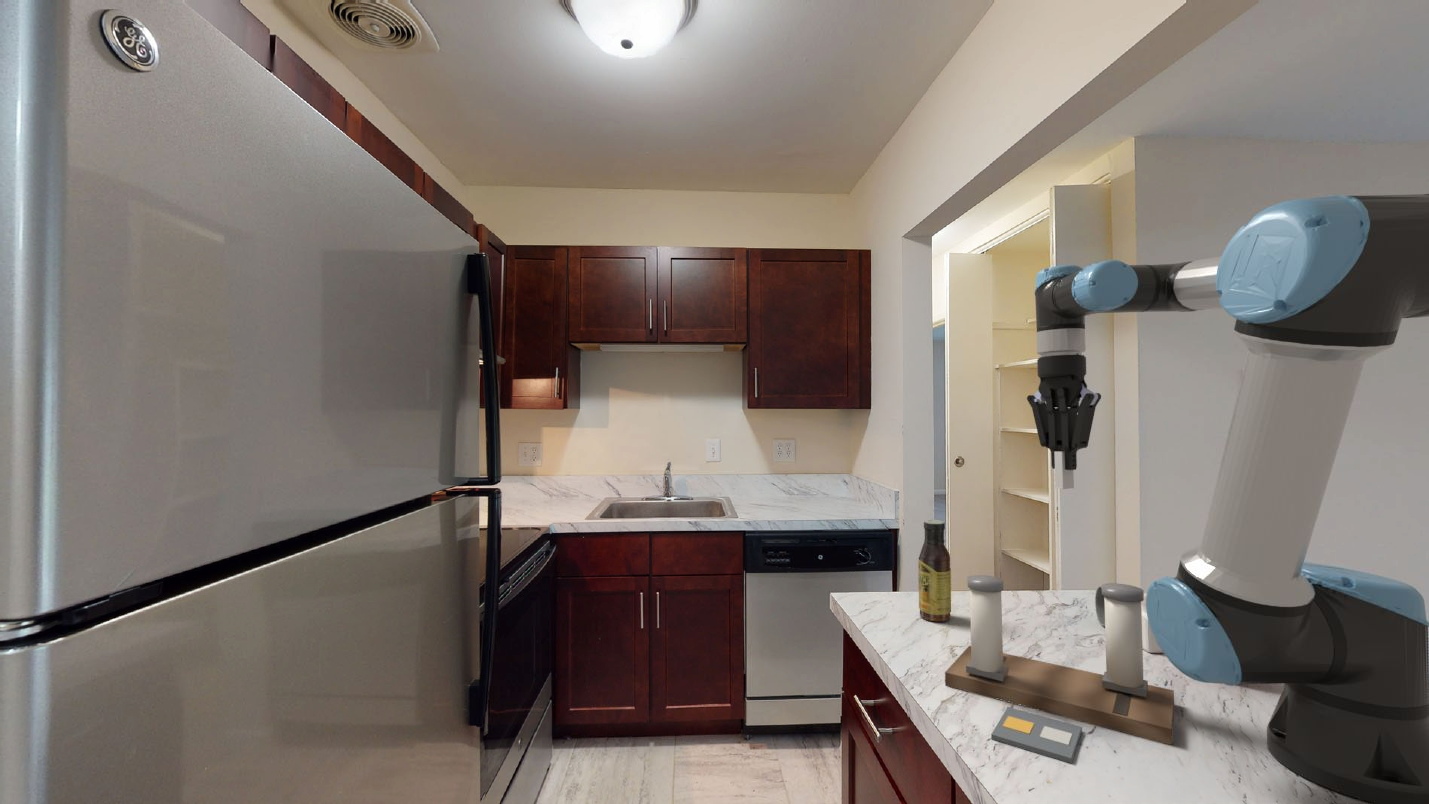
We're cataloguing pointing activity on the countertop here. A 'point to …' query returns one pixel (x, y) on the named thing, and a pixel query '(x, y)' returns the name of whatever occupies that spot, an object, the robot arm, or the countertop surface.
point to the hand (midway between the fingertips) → (1064, 488)
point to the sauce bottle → (934, 574)
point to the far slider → (986, 627)
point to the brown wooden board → (1072, 695)
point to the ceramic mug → (1100, 606)
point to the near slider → (1124, 639)
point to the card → (1038, 734)
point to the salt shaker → (1148, 632)
